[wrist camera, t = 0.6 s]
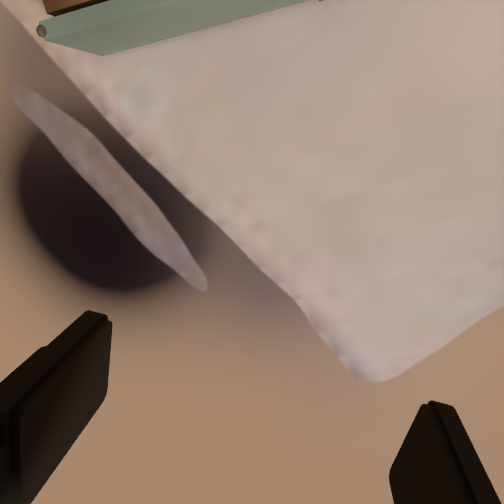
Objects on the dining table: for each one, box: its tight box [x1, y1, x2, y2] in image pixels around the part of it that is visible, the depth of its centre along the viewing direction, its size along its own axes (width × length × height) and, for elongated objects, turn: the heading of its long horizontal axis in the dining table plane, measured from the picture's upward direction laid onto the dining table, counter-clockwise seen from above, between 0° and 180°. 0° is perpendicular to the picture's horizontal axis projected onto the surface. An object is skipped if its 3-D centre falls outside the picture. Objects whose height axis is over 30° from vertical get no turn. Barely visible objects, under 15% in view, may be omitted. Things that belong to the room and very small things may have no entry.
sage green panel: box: [37, 0, 323, 56], centre depth 28 cm, size 23×2×8 cm, turn 101°
